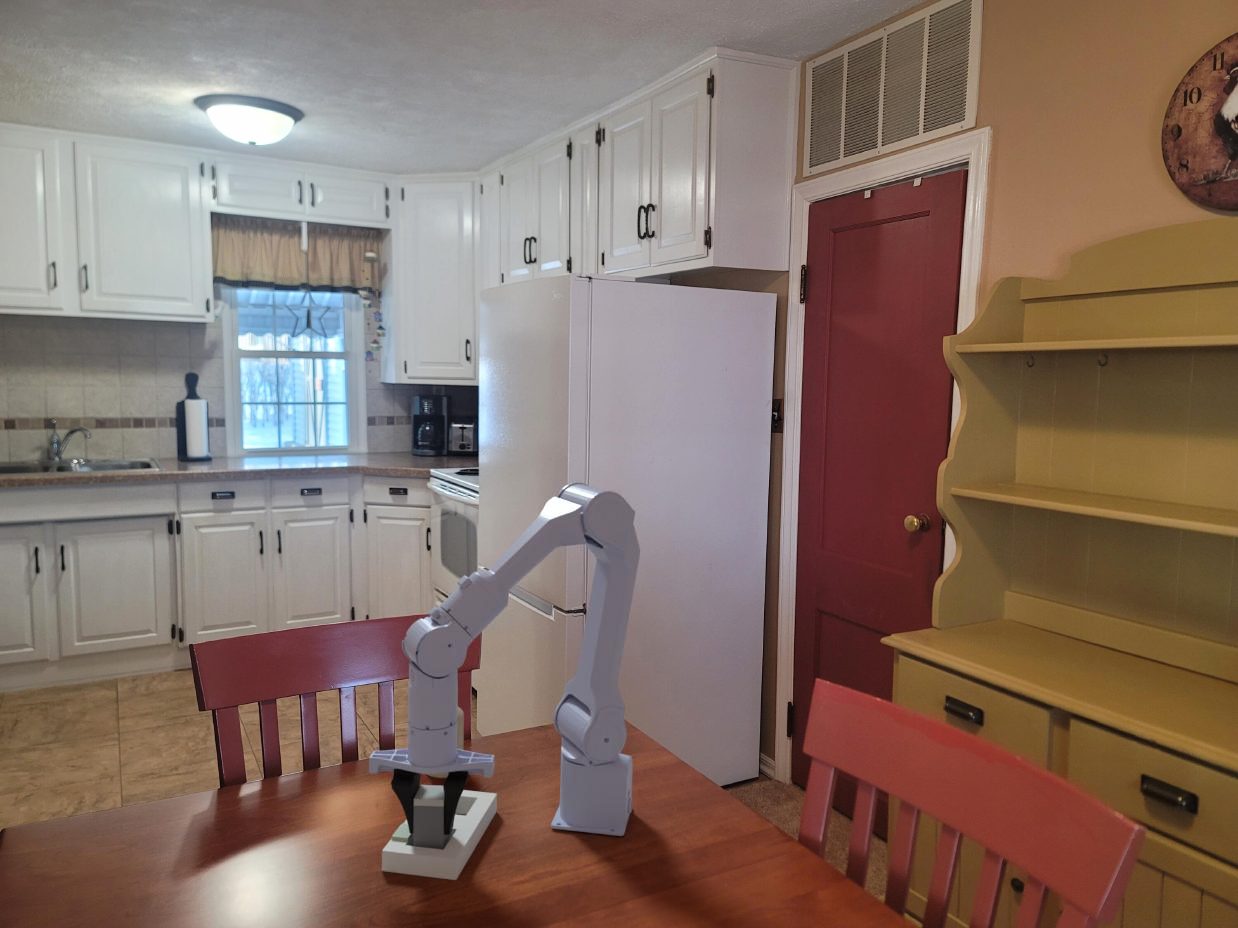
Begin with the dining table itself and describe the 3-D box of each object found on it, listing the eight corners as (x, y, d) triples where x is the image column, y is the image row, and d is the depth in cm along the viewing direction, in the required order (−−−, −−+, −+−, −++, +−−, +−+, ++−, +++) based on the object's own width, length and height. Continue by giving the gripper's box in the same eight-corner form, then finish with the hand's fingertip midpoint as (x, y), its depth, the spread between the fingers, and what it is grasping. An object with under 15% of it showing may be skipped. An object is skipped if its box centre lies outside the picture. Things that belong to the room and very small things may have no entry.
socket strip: (496, 811, 115) (497, 790, 115) (456, 879, 100) (456, 856, 99) (432, 804, 117) (432, 783, 116) (381, 870, 101) (382, 847, 101)
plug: (448, 840, 106) (449, 785, 105) (442, 856, 102) (443, 799, 102) (420, 839, 106) (420, 784, 105) (413, 855, 102) (413, 798, 102)
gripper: (499, 709, 106) (497, 814, 108) (381, 705, 106) (380, 810, 108) (490, 733, 99) (488, 845, 101) (363, 728, 99) (363, 840, 101)
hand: (431, 829), depth 104 cm, fingers closed on plug, 3 cm apart
